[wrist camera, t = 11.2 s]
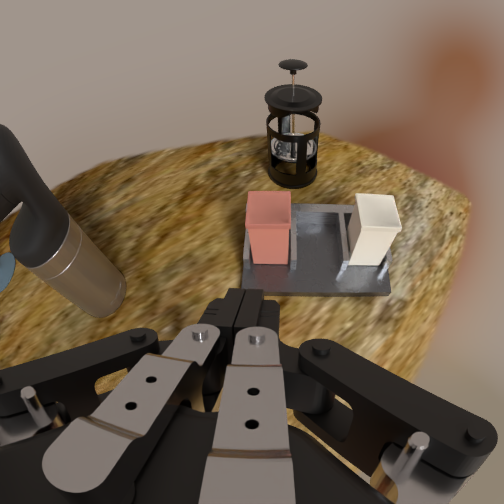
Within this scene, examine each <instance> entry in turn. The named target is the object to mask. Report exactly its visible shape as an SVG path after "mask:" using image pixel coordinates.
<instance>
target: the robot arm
mask: <svg viewBox="0 0 504 504" xmlns="http://www.w3.org/2000/svg"><path fill="white" fill-rule="evenodd" d="M20 202H23V204H22V207H21V210H20V212H19V214H18V216H17V218H16V220H15V222H14V224H13V227H12V230H11V233H10V240H9V245H10V250H11V253H12V254H13V256H14V257H15V258H16V259H17V260H18V261H19V262H20V263H21V264H23V265H24V266H25V267H26V268H28V269H29V270H30V271H31V272H33V273H34V274H35V275H36V276H38V277H39V278H40V279H42V280H43V281H44V282H45V283H47V284H48V285H49V286H51V287H52V288H53V289H55V290H56V291H57V292H59V293H60V294H61V295H63V296H64V297H66V298H67V299H68V300H70V301H71V302H73V303H74V304H75V305H77V306H78V307H80V308H81V309H82V310H84V311H85V312H87V313H88V314H90V315H92V316H94V317H105V316H108V315H110V314H112V313H113V312H114V311H115V310H116V309H118V307H119V306H120V305H121V303H122V301H123V299H124V296H125V293H126V282H125V279H124V277H123V275H122V274H121V273H120V271H119V270H118V269H117V268H116V267H115V266H114V265H113V264H112V263H111V262H110V261H109V259H108V258H107V257H106V256H105V255H104V254H103V253H102V252H101V251H100V250H99V248H98V247H97V246H96V245H95V244H94V243H93V242H92V241H91V239H90V238H89V237H88V236H87V235H86V234H85V232H84V231H83V230H82V229H81V228H80V227H79V225H78V224H77V223H76V222H75V221H74V220H73V218H72V217H71V216H70V215H69V214H68V212H67V211H66V210H65V209H64V207H63V206H62V205H61V204H60V203H59V201H58V200H57V199H56V198H55V196H54V195H53V194H52V192H51V191H50V190H49V188H48V187H47V186H46V185H45V183H44V182H43V180H42V179H41V177H40V176H39V174H38V173H37V171H36V170H35V168H34V166H33V165H32V163H31V161H30V160H29V158H28V156H27V154H26V153H25V151H24V149H23V148H22V146H21V145H20V143H19V141H18V140H17V138H16V137H15V136H14V134H13V133H12V132H11V131H10V130H9V129H8V128H7V127H5V126H4V125H1V124H0V222H1V221H2V220H3V219H4V218H5V217H6V216H7V215H8V214H9V213H10V212H11V211H12V210H13V209H14V208H15V207H16V206H17V205H18V204H19V203H20ZM279 317H280V305H279V304H278V303H277V302H276V301H275V300H264V289H247V290H246V289H238V288H229V289H228V292H227V294H226V296H225V298H224V299H221V298H217V299H215V300H213V301H212V302H210V303H209V305H208V306H207V308H206V310H205V311H204V314H203V315H202V316H201V318H200V320H199V322H198V323H197V324H194V325H190V326H188V327H186V328H184V329H183V330H182V331H181V332H180V333H179V334H178V336H177V337H176V338H175V339H174V340H167V341H158V336H157V333H156V332H155V331H154V330H152V329H148V328H136V329H131V330H128V331H125V332H122V333H119V334H116V335H113V336H110V337H107V338H104V339H101V340H98V341H95V342H92V343H88V344H85V345H82V346H79V347H76V348H73V349H70V350H66V351H63V352H60V353H57V354H53V355H50V356H47V357H43V358H40V359H37V360H33V361H30V362H27V363H23V364H20V365H16V366H13V367H9V368H6V369H2V370H0V504H449V502H450V501H451V500H452V498H453V497H454V496H455V495H456V494H457V493H458V492H459V491H460V490H461V489H462V488H463V487H464V485H465V484H466V483H467V482H468V481H469V480H470V479H471V477H472V476H473V475H474V474H475V472H476V471H477V470H478V469H479V468H480V466H481V465H482V464H483V463H484V461H485V460H486V459H487V457H488V456H489V455H490V453H491V452H492V451H493V449H494V448H495V446H496V444H497V439H498V436H497V432H496V430H495V428H494V426H493V425H492V424H491V423H490V422H488V421H487V420H485V419H483V418H481V417H479V416H477V415H474V414H472V413H470V412H468V411H466V410H464V409H462V408H460V407H458V406H456V405H454V404H452V403H450V402H448V401H446V400H444V399H442V398H440V397H437V396H436V395H434V394H432V393H430V392H428V391H426V390H424V389H422V388H420V387H418V386H416V385H414V384H412V383H410V382H408V381H407V380H405V379H403V378H401V377H399V376H397V375H395V374H393V373H391V372H389V371H388V370H386V369H384V368H382V367H380V366H378V365H376V364H374V363H373V362H371V361H369V360H367V359H365V358H363V357H362V356H360V355H358V354H356V353H354V352H352V351H351V350H349V349H347V348H345V347H343V346H342V345H340V344H338V343H336V342H334V341H331V340H328V339H311V340H308V341H305V342H304V343H302V344H301V345H300V347H299V349H298V348H294V347H290V346H288V345H285V344H284V343H282V342H281V341H280V339H279ZM124 368H127V371H128V374H127V375H126V376H125V377H124V379H123V380H122V381H121V382H120V383H119V384H118V385H117V386H116V388H115V389H113V390H111V391H108V392H106V393H103V394H100V395H97V393H96V391H95V387H94V386H95V382H96V381H97V380H98V379H99V378H100V377H103V376H106V375H108V374H111V373H114V372H116V371H119V370H122V369H124ZM335 394H336V395H337V396H339V397H340V398H342V399H343V400H345V401H346V402H348V403H349V405H350V406H351V408H352V410H351V409H350V408H348V407H347V406H345V405H344V404H342V403H341V402H339V401H338V400H337V399H335ZM56 402H58V403H56ZM286 408H289V409H293V413H294V416H295V418H296V419H297V420H298V421H300V422H301V423H302V424H303V425H304V426H305V427H307V428H308V429H309V430H310V431H311V432H313V433H314V434H315V435H316V436H317V437H319V438H320V439H321V440H322V441H324V442H325V443H326V444H327V445H328V446H330V447H331V448H332V449H334V450H335V451H336V452H337V453H339V454H340V455H341V456H342V457H344V458H345V459H346V460H348V461H349V462H350V463H352V464H353V465H354V466H356V467H357V468H358V469H360V470H361V471H362V472H364V473H365V474H366V475H368V476H369V477H371V479H370V485H369V484H368V483H367V482H365V481H364V480H363V479H362V478H360V477H359V476H358V475H357V474H356V473H354V472H353V471H352V470H351V469H349V468H348V467H347V466H346V465H345V464H343V463H342V462H341V461H340V460H339V459H338V458H336V457H335V456H334V455H333V454H332V453H331V452H329V451H328V450H327V449H326V448H325V447H324V446H323V445H321V444H320V443H319V442H318V441H317V440H316V439H315V438H313V437H312V436H311V435H309V434H308V433H306V432H304V431H302V430H301V429H298V428H296V427H294V426H291V425H288V424H287V412H286ZM218 409H219V412H217V411H218Z"/></svg>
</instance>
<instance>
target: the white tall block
mask: <svg viewBox="0 0 504 504" xmlns="http://www.w3.org/2000/svg"><path fill="white" fill-rule="evenodd" d="M401 229H402V227H401V223H400V219H399V215H398V211H397V208H396V204H395V200H394V197H393V195H377V194H358V193H356V194H355V205H354V208H353V212H352V215H351V218H350V222H349V225H348V228H347V232H346V236H347V244H348V253H349V263H348V265H380V263H381V261H382V259H383V258H384V256H385V254H386V252H387V251H388V249H389V247H390V245H391V243H392V241H393V240H394V238H395V236H396V234H397V232H400V231H401Z"/></svg>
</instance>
